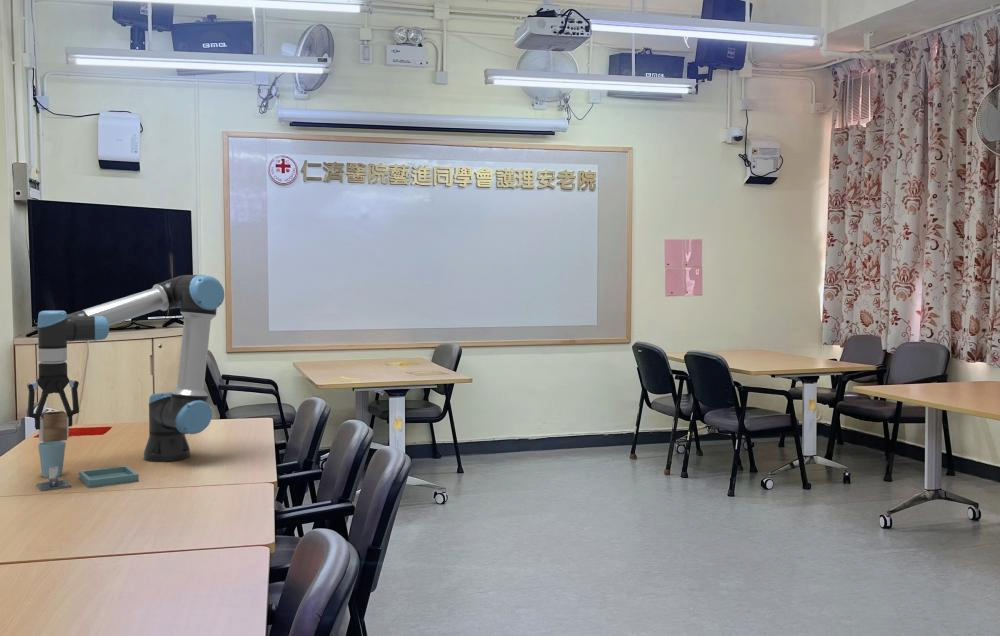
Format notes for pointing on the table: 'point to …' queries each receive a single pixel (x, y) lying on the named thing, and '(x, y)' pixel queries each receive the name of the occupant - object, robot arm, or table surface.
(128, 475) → the tray
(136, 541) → the table surface
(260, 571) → the table surface
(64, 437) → the bored block
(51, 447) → the cup
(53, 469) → the knob mounting plate
